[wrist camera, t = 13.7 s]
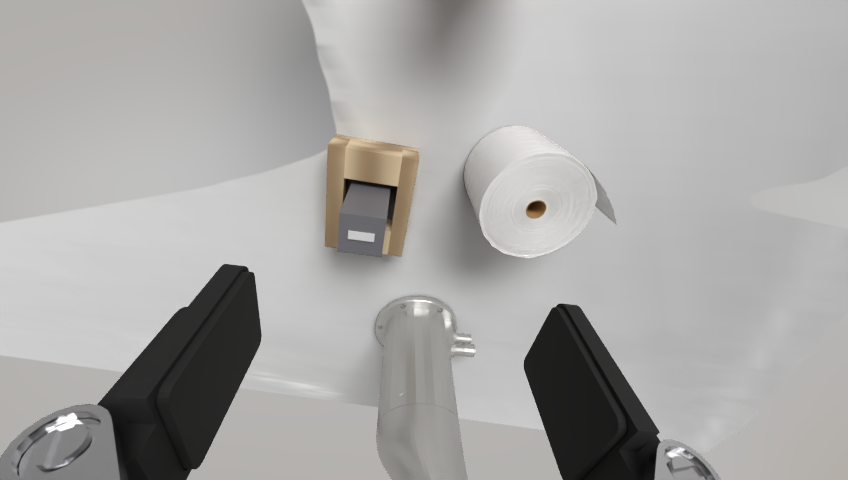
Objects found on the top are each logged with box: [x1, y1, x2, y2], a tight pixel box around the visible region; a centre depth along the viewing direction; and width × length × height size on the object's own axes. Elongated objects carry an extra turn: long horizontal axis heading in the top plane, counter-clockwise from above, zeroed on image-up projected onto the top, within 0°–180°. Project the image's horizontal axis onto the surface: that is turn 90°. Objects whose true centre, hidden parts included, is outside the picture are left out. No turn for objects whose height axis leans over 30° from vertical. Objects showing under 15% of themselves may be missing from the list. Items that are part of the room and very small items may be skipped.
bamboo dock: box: [325, 134, 419, 256], centre depth 36 cm, size 9×12×4 cm
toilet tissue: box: [464, 126, 616, 258], centre depth 33 cm, size 11×12×10 cm
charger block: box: [338, 180, 391, 257], centre depth 33 cm, size 4×4×9 cm
